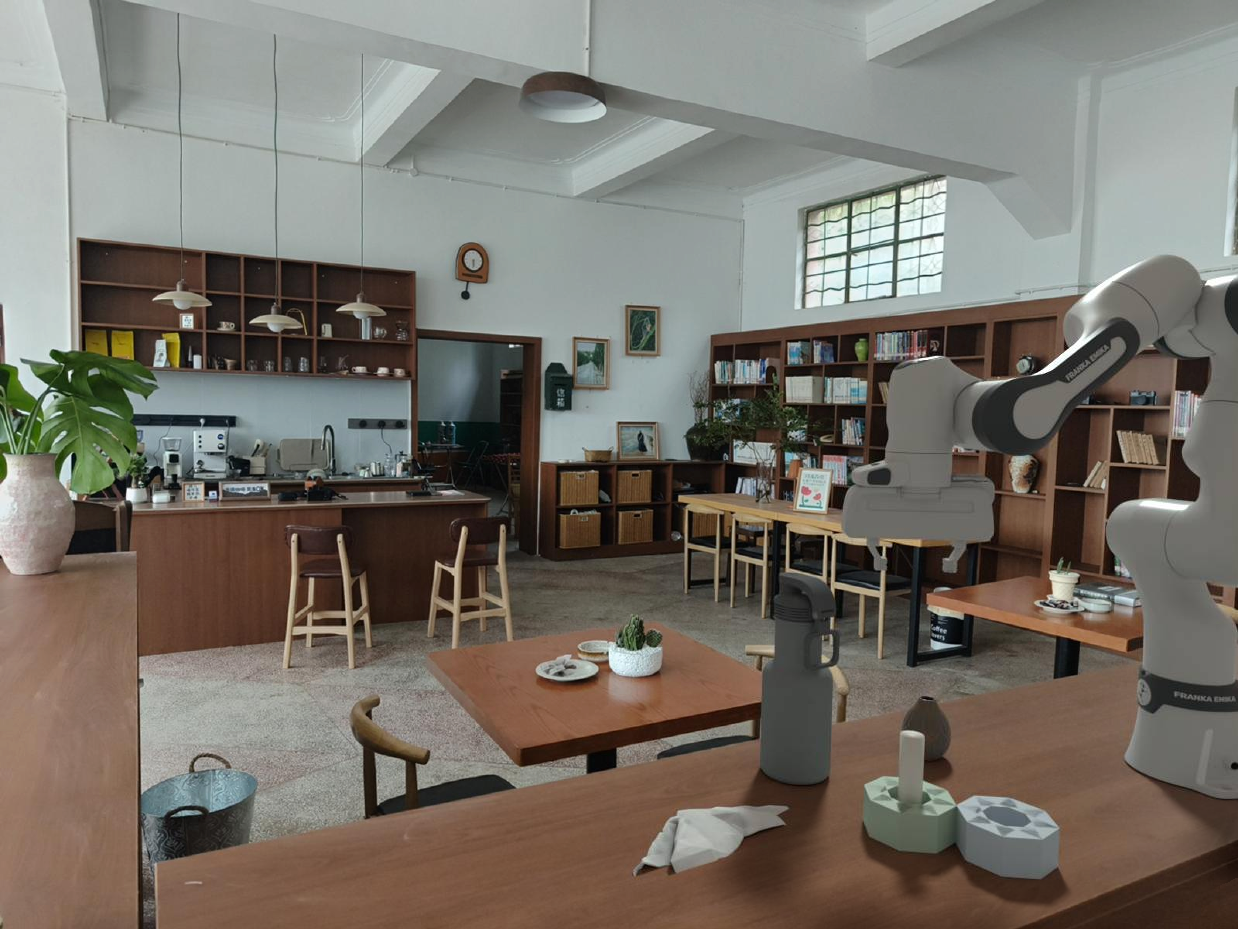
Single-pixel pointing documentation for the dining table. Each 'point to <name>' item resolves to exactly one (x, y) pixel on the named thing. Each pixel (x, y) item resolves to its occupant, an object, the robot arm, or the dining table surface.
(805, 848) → the dining table surface
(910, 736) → the dowel
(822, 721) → the water bottle
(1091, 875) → the dining table surface
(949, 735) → the vase
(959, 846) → the bead
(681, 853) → the cloth
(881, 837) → the bead
